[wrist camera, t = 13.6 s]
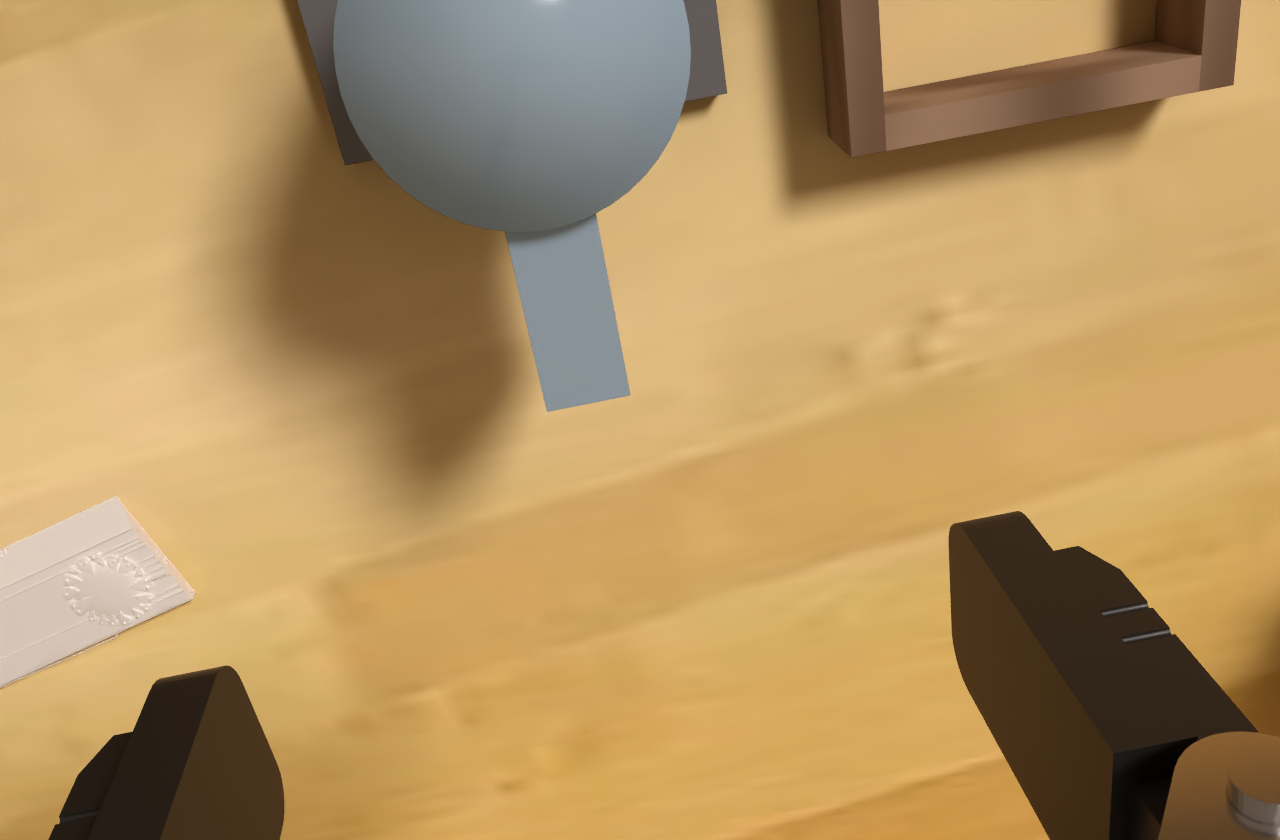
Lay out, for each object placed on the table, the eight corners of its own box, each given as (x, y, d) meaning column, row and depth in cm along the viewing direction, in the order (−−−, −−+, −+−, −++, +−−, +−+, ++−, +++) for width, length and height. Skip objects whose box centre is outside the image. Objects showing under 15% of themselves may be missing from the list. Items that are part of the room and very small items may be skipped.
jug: (331, -174, 28) (261, -179, 20) (608, -226, 28) (650, -252, 20) (456, 300, 34) (441, 442, 26) (683, 255, 34) (738, 383, 26)
